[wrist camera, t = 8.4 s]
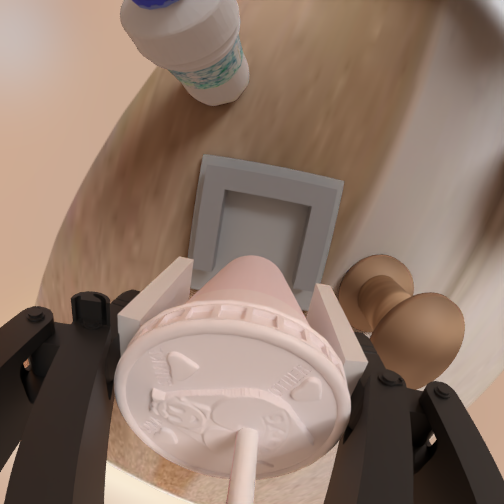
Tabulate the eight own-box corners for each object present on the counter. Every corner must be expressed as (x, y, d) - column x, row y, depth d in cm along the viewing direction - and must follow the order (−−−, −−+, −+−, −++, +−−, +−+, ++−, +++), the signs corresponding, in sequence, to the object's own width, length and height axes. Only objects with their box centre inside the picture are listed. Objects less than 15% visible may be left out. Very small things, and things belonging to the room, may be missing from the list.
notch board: (205, 154, 28) (198, 152, 25) (342, 181, 28) (349, 181, 25) (186, 283, 32) (178, 294, 29) (311, 307, 31) (314, 320, 29)
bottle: (258, 58, 25) (239, -80, 6) (245, 116, 27) (199, 12, 7) (197, 52, 25) (113, -64, 6) (182, 107, 27) (61, 29, 8)
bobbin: (350, 247, 29) (394, 289, 18) (419, 262, 29) (479, 304, 18) (328, 322, 32) (352, 391, 20) (395, 331, 32) (436, 392, 20)
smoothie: (286, 350, 17) (295, 594, 3) (182, 319, 16) (62, 538, 3) (328, 251, 15) (485, 513, 1) (210, 213, 15) (-44, 403, 1)
